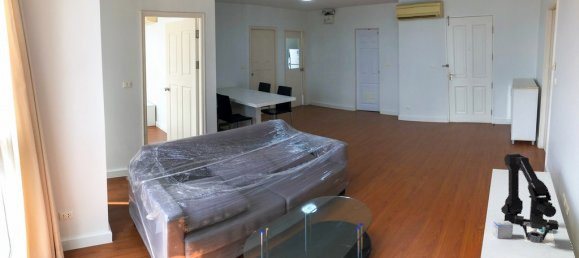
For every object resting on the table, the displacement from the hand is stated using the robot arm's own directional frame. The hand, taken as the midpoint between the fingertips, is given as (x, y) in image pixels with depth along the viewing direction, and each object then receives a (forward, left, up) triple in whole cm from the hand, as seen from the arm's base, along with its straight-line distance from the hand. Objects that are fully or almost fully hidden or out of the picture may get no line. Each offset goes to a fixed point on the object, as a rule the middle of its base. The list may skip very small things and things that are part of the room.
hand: (534, 238), depth 216 cm
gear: (0, 0, -1) cm, 1 cm away
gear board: (+2, +6, -2) cm, 7 cm away
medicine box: (-14, -1, -2) cm, 15 cm away
